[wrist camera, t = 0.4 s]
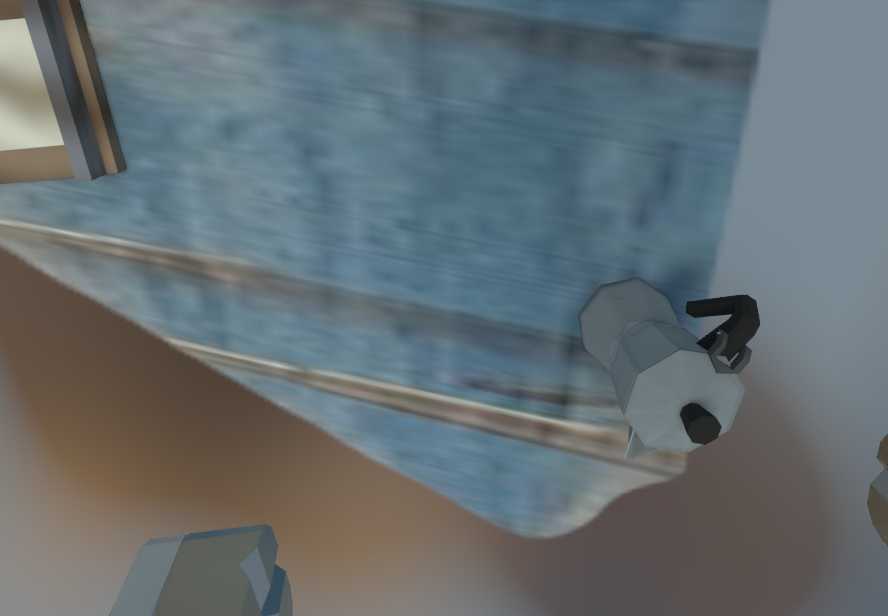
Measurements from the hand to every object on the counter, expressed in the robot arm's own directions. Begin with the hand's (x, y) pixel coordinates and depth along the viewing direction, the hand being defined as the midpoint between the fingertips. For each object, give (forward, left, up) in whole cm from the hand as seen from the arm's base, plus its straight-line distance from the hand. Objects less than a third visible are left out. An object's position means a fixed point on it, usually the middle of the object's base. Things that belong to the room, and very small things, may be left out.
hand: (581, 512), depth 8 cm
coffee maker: (+19, +16, -46) cm, 52 cm away
